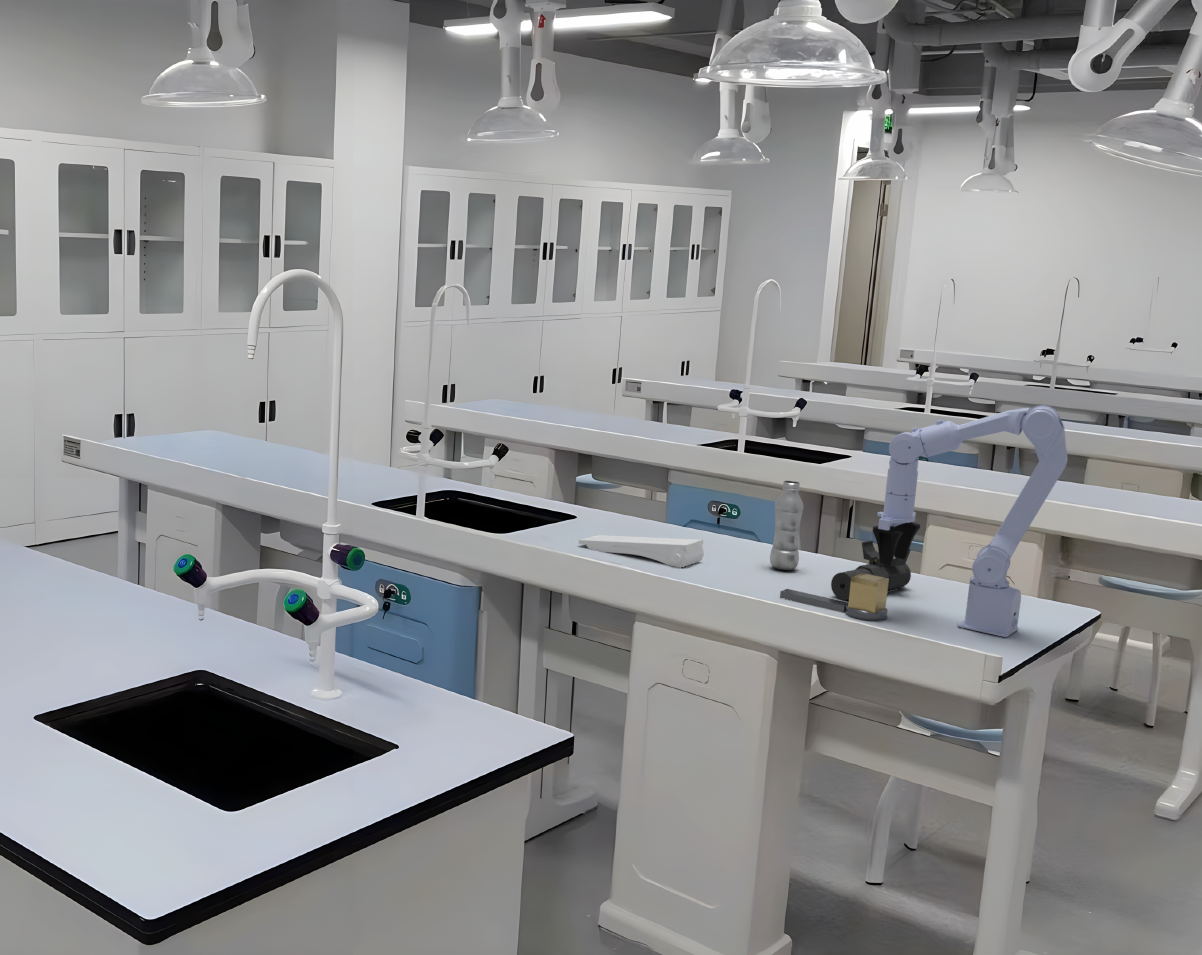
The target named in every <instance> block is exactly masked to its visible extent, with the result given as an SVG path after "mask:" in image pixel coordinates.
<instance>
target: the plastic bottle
mask: <svg viewBox="0 0 1202 955" xmlns="http://www.w3.org/2000/svg"><path fill="white" fill-rule="evenodd" d="M782 483H783V485H782V488H781V489H782V490H783V491H782V493H781V494H780V495H778V497H777V499H775V503H774V516H775V518H774V520H775V522H774V523H775V524H774V526H775V528H774V536H773V537H774V538H773V543H772V547H771V550H770V554H769V563H770V565H771V567H772V568H774V569H778V570H781V571H791V570H795V569H796V568H797V567H798V565H799V561H800V555H799V534H800V533H799V530H800V525H801V521H802V516H803V511H804V506H805V505H804V503H803V502H804V501H803V500H802V498H801V496H800V494H799V492H800V491H801V490H800V486H801V485H800V482H799V481H795V480H794V481H793V480H784V481H783V482H782Z"/></svg>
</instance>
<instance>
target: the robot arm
mask: <svg viewBox="0 0 1202 955" xmlns="http://www.w3.org/2000/svg"><path fill="white" fill-rule="evenodd" d="M1059 414H1060V413H1058V411H1057V410H1056V409H1055V408H1053V407H1051V406H1050V405H1045V404H1042V405H1035V406H1034V407H1032V408H1030V407H1022V408H1015V409H1010V410H1009V409H1008V410H1005V411H1003V412H999V413H994V414H992V415H989V416H985V417H981V418H979V419H975V420H971V421H967V422H966V423H963V424H962V423H961V424H957V423H955V422H954V421H951V420H946V421H945V420H944V419H939V420H936V421H935V424H931V425H927V426H924V427H921V428H918V426H916V427H913V428H911V432H910V431H905V432H901V433H899V434H897V435H896V436H894V437H893V438H892V439H891V440H890V442H889V445H888V452H889V456H890V458H889V463H888V464H889V468H888V470H887V476H886V477H887V478H886V484H885V495H884V496H885V497H884V505H883V511H878V512H877V514H876V515H877V517H881V518H879V519H878V525H874V526H873V527H872V534H873V535H874V538H875V540H876V545H877V550H878V551H877V552H878V553H879V559H880V563H882V564H887V565H891V564H892V561H893V559H895V558H900V559H906V556H907V554H908V551H909V549H910V548H911V544H912V542H913V541H914V538H915V536H916V535H917V533H918V531H919V530H921V524H920V523H916V522H915V521H916V516H917V512H916V511H914V510H915V502H916V496H917V495H916V494H917V493H916V492H917V485H918V484H917V483H918V476H919V471H918V467H919V457H923V458H929V457H933V456H937V455H941V454H945V453H947V452H948V453H949V452H951V451H952V452H953V451H957V450H958V449H959V448H960V446H961V444H962V443H963V441H964V442H965V441H967V440H971V439H976V438H980V437H985V436H989V435H993V434H998V433H1001V432H1006V433H1010V434H1014V435H1016V436H1017V435H1018V436H1020V435H1021V433H1022V432H1023V434H1024V435H1025V437H1026V438H1027V439H1028V441H1029V442H1030V443H1031V445H1033V448H1034V451H1035V453H1036V455H1037V459H1038V463H1037V464H1036V466H1035V468H1034V470H1033V471H1032V473H1031V474H1030V476H1029V478H1028V479H1027V482H1026V483H1025V485H1024V487H1023V488H1022V490H1021V492H1020V493H1019V495H1018V497H1017V498H1016V500H1015V501H1014V503H1013V505H1012V507H1011V508H1010V510H1009V511H1008V513H1007V515H1006V516H1005V518H1004V520H1003V522H1002V523H1001V525H1000V527H999V528H998V530H997V532H996V533H995V535H994V536H993V538H992V539H991V540H990V542H989V544H987V545H986V546H984V547H982V548H981V549H980V550H979V551H978V553H977V555H976V558H975V559H974V561H973V563H972V567H971V569H972V570H971V571H972V575H973V576H970V578H969V585H968V593H967V601H966V608H965V617H964V620H962V621H960V622H959V623H957V625H956V626H957V627H958V628H962V629H966V630H971V631H976V632H981V633H985V634H989V635H994V636H999V637H1003V638H1008V637H1009V636H1010V635H1012V634H1013V633H1014V632H1016V631H1018V629H1019V627H1018V624H1019V617H1020V608H1021V602H1022V592H1021V590H1020V589H1018V588H1014V587H1012V586H1011V585H1010V581H1009V580H1008V579H1007V578H1006V577H1007V574H1008V570H1009V568H1010V566H1011V559H1012V556H1013V555H1014V553H1015V552H1016V549H1017V548H1018V546H1019V544H1020V543H1021V541H1022V539H1023V538H1024V536H1025V534H1026V533H1027V531H1028V530H1029V528H1030V526H1031V524H1032V523H1033V521H1034V520H1035V518H1036V516H1037V515H1038V513H1039V511H1040V509H1041V508H1042V506H1043V504H1044V503H1045V501H1046V500H1047V498H1048V496H1049V495H1050V494H1051V491H1052V490H1053V488H1054V486H1055V484H1056V483H1057V481H1058V480H1059V479H1060V477H1061V475H1062V473H1063V472H1064V471H1065V468H1066V467H1067V464H1068V450H1067V442H1066V429H1065V424H1064V423H1063V421H1062V418H1061V416H1060V415H1059Z"/></svg>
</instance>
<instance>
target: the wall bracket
mask: <svg viewBox="0 0 1202 955" xmlns="http://www.w3.org/2000/svg"><path fill="white" fill-rule="evenodd" d="M578 544H579V545H585V546H587V548H588V550H593V551H598V552H603V553H613V554H614V553H615V554H625V555H634V556H641V557H644V558H648V559H651V560H655V561H658V562H660V563H662V564H665V565H667V566H670V565H671V567H674V566H675V568H679V567H683V568H685V566H686V567H689V566H691V564H692V565H694V564H697V563H699V562H701V561H702V560H703V558H704V549H703V544H704V540H703V539H696V538H694V539H691V538H671V537H669V538H668V537H649V536H648V537H647V536H646V537H645V536H626V535H625V536H622V535H620V536H619V535H604V534H603V535H602V534H601V535H600V534H597V535H594V536H588V537H586V538H582V539H578ZM688 565H689V566H688Z"/></svg>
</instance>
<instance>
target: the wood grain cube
mask: <svg viewBox="0 0 1202 955" xmlns="http://www.w3.org/2000/svg"><path fill="white" fill-rule="evenodd" d="M888 582H889V579H888V578H884V577H879V576H874V575H869V574H864V573H862V574H859V575H856V576H854V577H851V585H850V594H849V599H848V607H849V608H853V609H857V610H862V611H866V612H871V613H877V612H879V611H881V610H883V609H885V608H886V607H887V600H888V592H887V591H888ZM886 609H887V608H886Z"/></svg>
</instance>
